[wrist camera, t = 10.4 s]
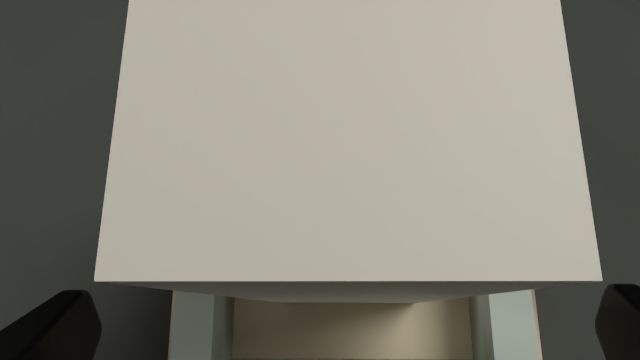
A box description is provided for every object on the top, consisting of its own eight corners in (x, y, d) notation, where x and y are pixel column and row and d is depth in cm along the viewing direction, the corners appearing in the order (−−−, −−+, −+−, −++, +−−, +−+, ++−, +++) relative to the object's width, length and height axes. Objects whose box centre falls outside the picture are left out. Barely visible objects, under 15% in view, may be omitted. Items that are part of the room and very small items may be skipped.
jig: (539, 427, 16) (589, 458, 12) (173, 421, 17) (127, 450, 13) (501, 86, 19) (532, 38, 16) (197, 95, 20) (165, 51, 16)
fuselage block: (415, 303, 16) (602, 280, 4) (283, 302, 16) (94, 281, 4) (409, 175, 17) (539, -135, 5) (285, 177, 18) (143, -113, 6)
